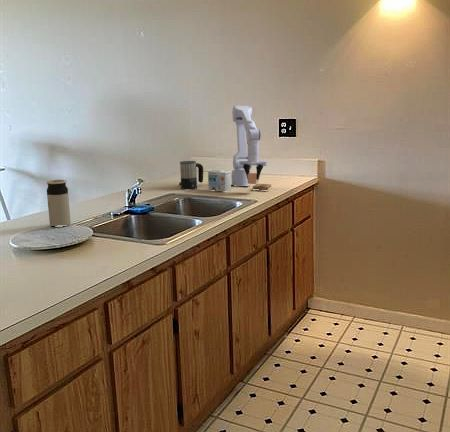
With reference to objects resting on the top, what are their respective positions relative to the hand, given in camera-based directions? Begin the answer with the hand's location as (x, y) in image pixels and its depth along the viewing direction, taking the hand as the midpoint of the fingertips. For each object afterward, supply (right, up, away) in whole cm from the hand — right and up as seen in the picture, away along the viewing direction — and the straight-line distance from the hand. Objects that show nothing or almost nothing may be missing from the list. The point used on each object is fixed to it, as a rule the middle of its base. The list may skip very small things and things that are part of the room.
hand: (253, 179), depth 268 cm
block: (0, -2, 0) cm, 2 cm away
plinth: (+5, -5, +10) cm, 12 cm away
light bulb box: (-17, -6, +9) cm, 20 cm away
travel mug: (-81, -23, -61) cm, 104 cm away
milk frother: (-36, -3, +21) cm, 41 cm away
